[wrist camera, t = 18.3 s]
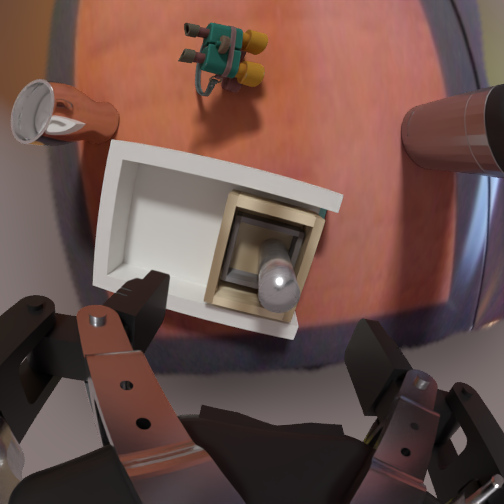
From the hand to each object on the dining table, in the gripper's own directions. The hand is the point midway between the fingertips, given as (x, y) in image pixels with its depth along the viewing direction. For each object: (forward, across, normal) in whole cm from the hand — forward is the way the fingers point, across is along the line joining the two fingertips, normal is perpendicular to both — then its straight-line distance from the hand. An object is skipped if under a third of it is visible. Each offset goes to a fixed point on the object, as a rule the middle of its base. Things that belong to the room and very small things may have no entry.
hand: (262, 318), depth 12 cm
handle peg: (+24, -2, +4) cm, 24 cm away
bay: (+26, +6, +4) cm, 27 cm away
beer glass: (+26, +24, -8) cm, 37 cm away
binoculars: (+27, +8, -17) cm, 33 cm away
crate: (+25, -1, +4) cm, 25 cm away
